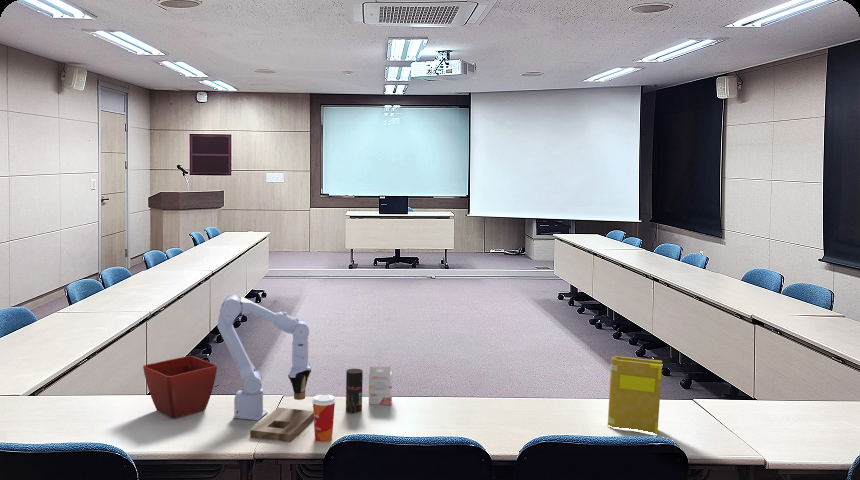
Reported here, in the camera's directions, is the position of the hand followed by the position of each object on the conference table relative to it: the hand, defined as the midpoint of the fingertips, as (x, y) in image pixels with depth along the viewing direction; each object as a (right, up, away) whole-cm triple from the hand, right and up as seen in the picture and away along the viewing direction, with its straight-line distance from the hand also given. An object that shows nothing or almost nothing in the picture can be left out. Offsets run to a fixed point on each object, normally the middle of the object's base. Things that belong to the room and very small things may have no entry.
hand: (299, 391), depth 243 cm
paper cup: (+12, -11, -21) cm, 27 cm away
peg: (0, -2, 0) cm, 2 cm away
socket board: (-3, -9, -13) cm, 16 cm away
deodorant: (+19, -8, +5) cm, 21 cm away
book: (+119, -12, -5) cm, 120 cm away
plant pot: (-43, -7, 0) cm, 44 cm away
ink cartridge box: (+28, -8, +15) cm, 33 cm away
